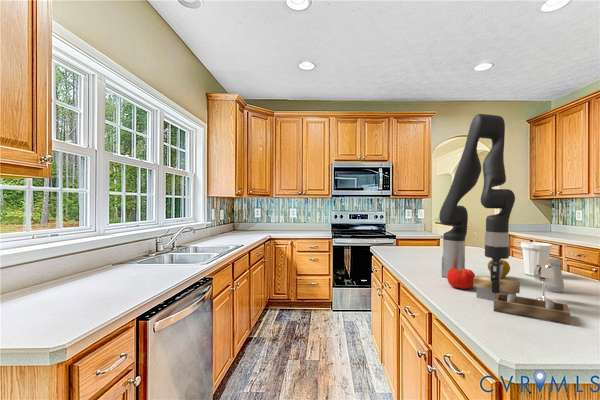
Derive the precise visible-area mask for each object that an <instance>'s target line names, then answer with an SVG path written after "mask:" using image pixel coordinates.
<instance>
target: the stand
mask: <svg viewBox="0 0 600 400" xmlns="http://www.w3.org/2000/svg"><path fill="white" fill-rule="evenodd" d="M499 294H505V295H508V294H513V295H515V296H517V293H513V292H506V291H500V290H499ZM495 296H496V293H492V289H486V288H480V287H476V298H477V299H483V300H488V301H489V300H490V301H494V298H495Z"/></svg>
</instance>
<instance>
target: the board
mask: <svg viewBox="0 0 600 400" xmlns="http://www.w3.org/2000/svg"><path fill="white" fill-rule="evenodd" d="M490 279H491V277H487V276H479V275H475V277H474V278H473V287H472V288H474V287H475V288H477V287H480V288H486V289H492V282H491V280H490ZM520 289H521V281H519V280H518V281H516V280H509V279H504V278H502V279H500V283H499V290H500V291H506V292H513V293H516V294H520V291H521V290H520Z"/></svg>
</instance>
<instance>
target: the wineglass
mask: <svg viewBox="0 0 600 400" xmlns="http://www.w3.org/2000/svg"><path fill="white" fill-rule="evenodd" d="M533 278H534V279H535V282H537V283H540V284H541V285H542V286H541V289H542V296H536V297H535V299H538V300H544V301H546V300H551V301H552V299H551V298H548V297H546V296H545V292H546V290H545V289H546V284H549V283H551V282H553V280H554V273H553V269H552V267H551V266H550V265H548V266H545V265H536V267H535V271H534V277H533Z"/></svg>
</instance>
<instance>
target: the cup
mask: <svg viewBox="0 0 600 400" xmlns="http://www.w3.org/2000/svg"><path fill="white" fill-rule="evenodd" d="M520 248H521V250H522V258H523V267H524V275H526V276H529V277H533V278H535V277H534V271H535V267H536V265H545V266H549V259H550V251H552V249H553V244H551V243H547V242H546V243H545V242H538V241H537V242H536V241H521V242H520Z"/></svg>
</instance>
